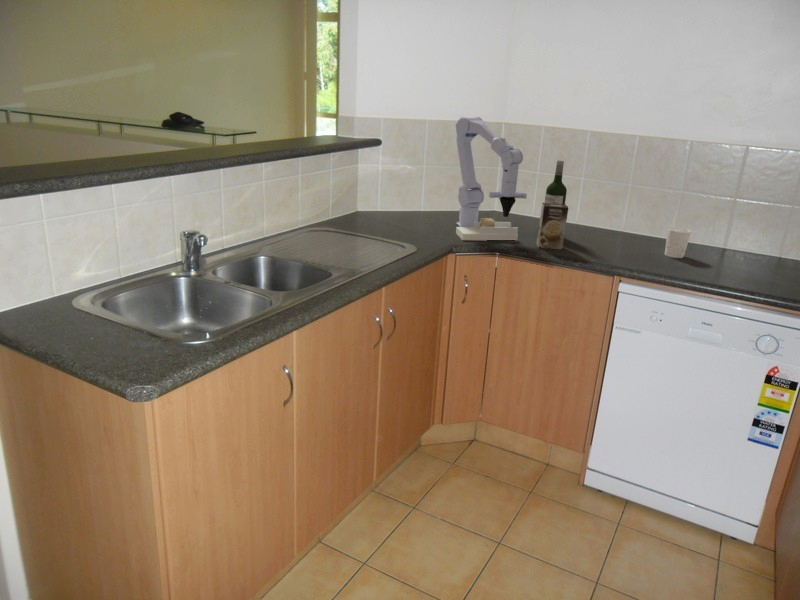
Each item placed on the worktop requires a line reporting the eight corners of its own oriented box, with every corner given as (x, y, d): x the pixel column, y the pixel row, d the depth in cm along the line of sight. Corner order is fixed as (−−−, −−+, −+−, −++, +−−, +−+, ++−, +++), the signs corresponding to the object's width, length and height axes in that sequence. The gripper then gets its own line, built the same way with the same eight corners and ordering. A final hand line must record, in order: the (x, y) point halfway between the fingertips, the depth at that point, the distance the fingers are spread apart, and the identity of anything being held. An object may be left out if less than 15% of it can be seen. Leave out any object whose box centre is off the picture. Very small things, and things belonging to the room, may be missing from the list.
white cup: (658, 253, 240) (663, 227, 237) (674, 252, 243) (679, 226, 240) (673, 259, 234) (678, 232, 230) (690, 258, 236) (695, 232, 233)
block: (479, 229, 252) (480, 218, 250) (490, 229, 252) (491, 218, 251) (482, 232, 248) (483, 220, 246) (493, 232, 248) (495, 220, 247)
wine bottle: (540, 236, 256) (550, 161, 245) (540, 232, 263) (550, 158, 253) (560, 238, 254) (571, 163, 244) (560, 234, 261) (570, 160, 251)
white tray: (455, 233, 254) (456, 220, 252) (508, 233, 258) (510, 221, 256) (462, 240, 244) (463, 227, 242) (517, 240, 247) (518, 228, 246)
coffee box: (537, 248, 239) (543, 205, 233) (536, 243, 245) (541, 202, 239) (562, 249, 238) (568, 207, 233) (560, 245, 244) (566, 204, 239)
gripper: (494, 182, 240) (490, 218, 244) (530, 183, 242) (526, 218, 246) (488, 179, 246) (485, 214, 251) (524, 180, 248) (520, 214, 253)
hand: (505, 216), depth 249 cm, fingers closed
